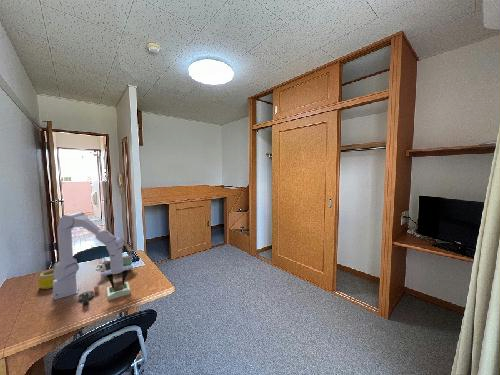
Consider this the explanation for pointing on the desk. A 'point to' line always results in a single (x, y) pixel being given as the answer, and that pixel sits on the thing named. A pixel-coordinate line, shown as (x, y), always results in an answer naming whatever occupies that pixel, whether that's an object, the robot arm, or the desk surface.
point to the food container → (126, 262)
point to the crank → (85, 297)
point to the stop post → (96, 289)
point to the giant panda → (104, 266)
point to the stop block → (118, 284)
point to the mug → (46, 279)
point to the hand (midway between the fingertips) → (118, 285)
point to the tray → (118, 292)
